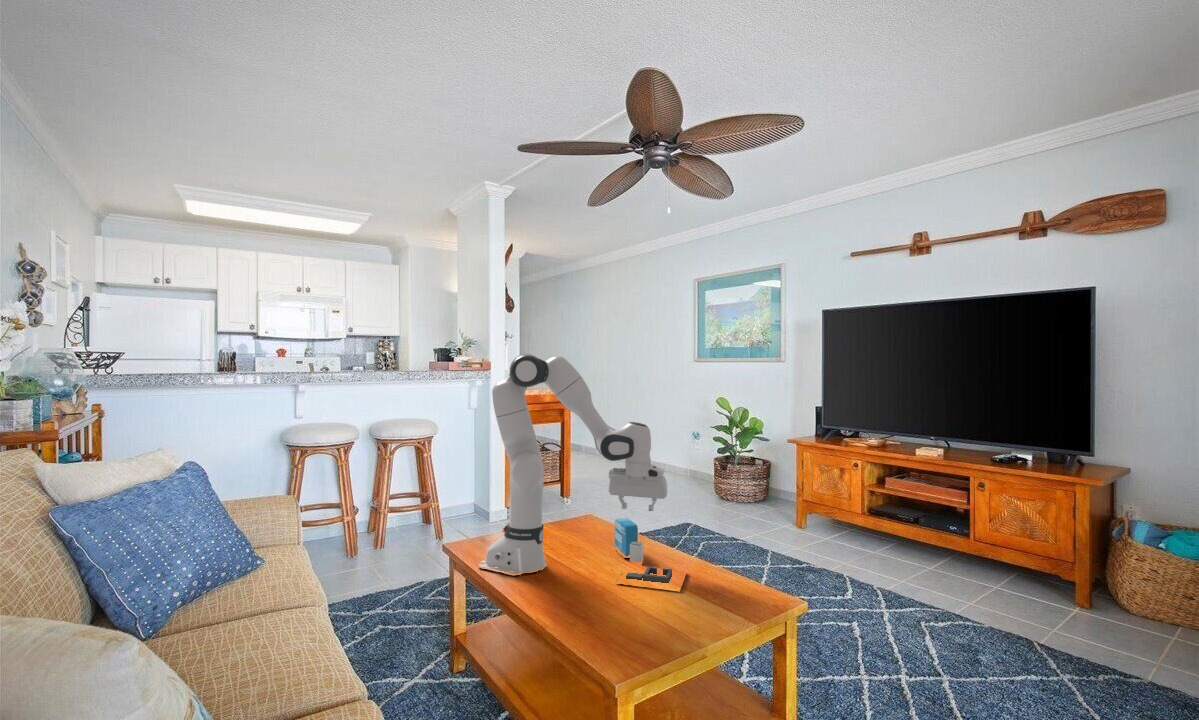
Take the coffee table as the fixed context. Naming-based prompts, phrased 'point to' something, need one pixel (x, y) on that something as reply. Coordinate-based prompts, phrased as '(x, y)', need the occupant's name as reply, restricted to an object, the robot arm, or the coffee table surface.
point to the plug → (636, 551)
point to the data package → (625, 534)
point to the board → (652, 578)
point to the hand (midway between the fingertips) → (637, 509)
